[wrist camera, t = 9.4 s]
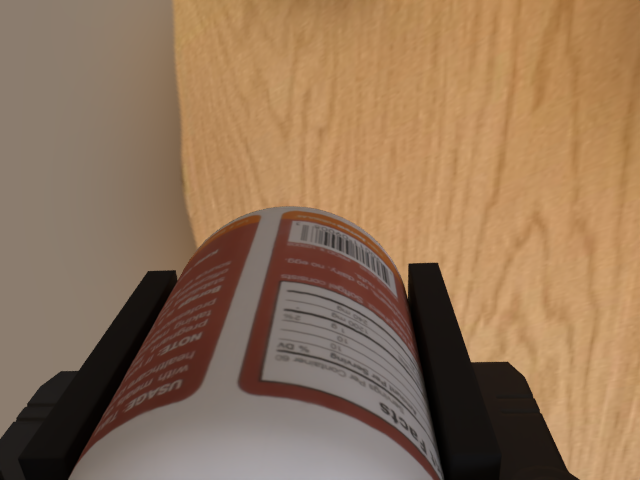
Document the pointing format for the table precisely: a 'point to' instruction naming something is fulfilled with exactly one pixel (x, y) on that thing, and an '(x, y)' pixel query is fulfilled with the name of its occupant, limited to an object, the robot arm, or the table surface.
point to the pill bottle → (275, 365)
